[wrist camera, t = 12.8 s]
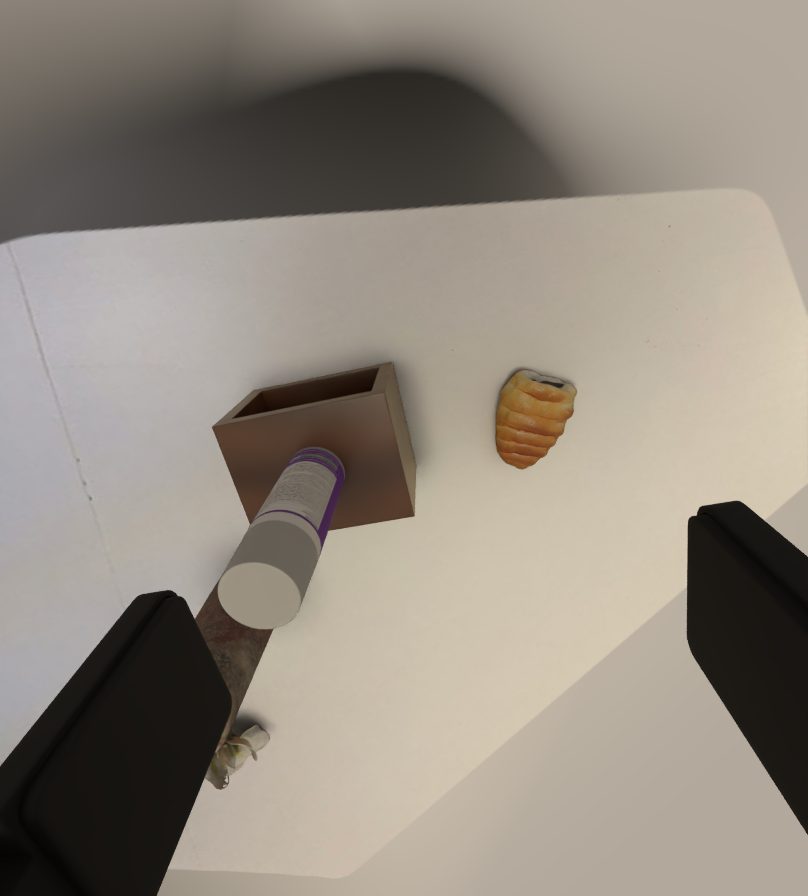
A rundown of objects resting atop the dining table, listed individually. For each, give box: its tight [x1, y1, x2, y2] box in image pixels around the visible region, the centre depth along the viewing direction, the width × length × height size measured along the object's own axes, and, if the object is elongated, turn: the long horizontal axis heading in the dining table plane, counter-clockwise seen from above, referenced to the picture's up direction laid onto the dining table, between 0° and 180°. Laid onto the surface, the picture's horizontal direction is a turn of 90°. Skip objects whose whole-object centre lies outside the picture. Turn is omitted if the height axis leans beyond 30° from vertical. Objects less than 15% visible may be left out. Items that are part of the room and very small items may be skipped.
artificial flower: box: [205, 725, 270, 790], centre depth 61 cm, size 9×22×10 cm, turn 23°
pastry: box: [496, 370, 577, 469], centre depth 46 cm, size 9×7×4 cm
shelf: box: [212, 362, 416, 531], centre depth 44 cm, size 11×14×10 cm
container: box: [218, 447, 345, 629], centre depth 33 cm, size 5×5×15 cm
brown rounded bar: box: [195, 571, 274, 753], centre depth 47 cm, size 8×7×20 cm
